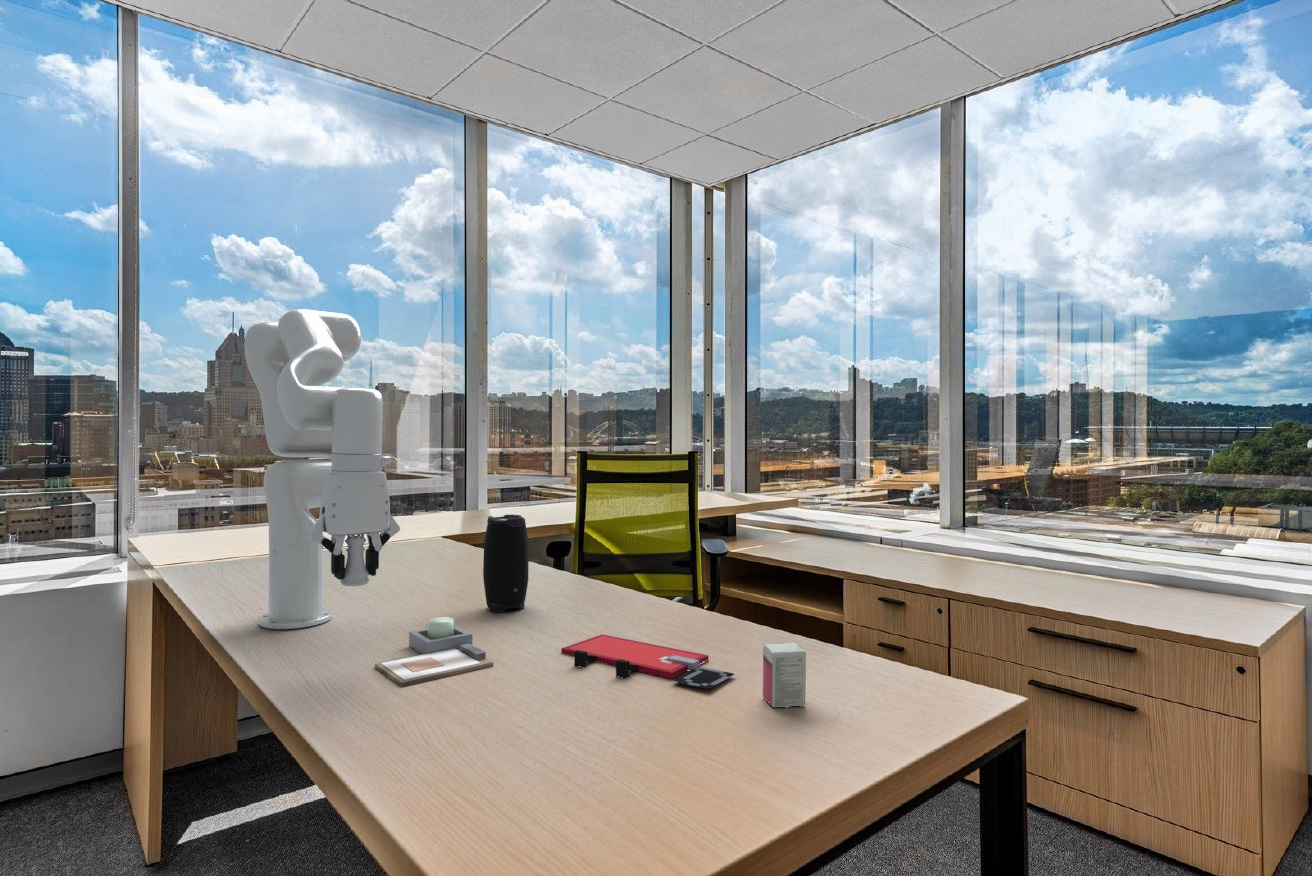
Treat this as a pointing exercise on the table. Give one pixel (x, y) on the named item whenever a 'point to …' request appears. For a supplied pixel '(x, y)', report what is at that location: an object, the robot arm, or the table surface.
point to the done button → (440, 628)
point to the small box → (784, 674)
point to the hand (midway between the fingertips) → (355, 574)
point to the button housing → (438, 641)
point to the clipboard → (434, 665)
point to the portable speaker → (505, 562)
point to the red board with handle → (646, 660)
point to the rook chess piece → (355, 562)
